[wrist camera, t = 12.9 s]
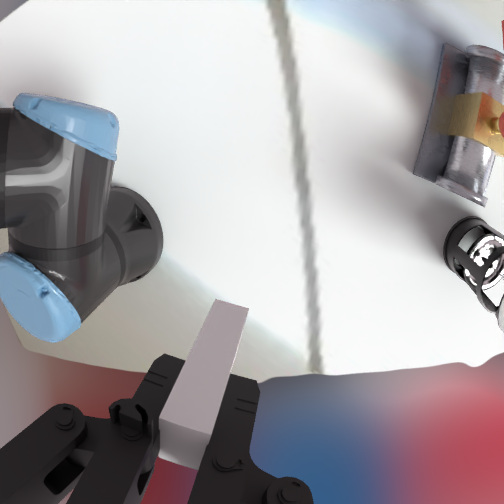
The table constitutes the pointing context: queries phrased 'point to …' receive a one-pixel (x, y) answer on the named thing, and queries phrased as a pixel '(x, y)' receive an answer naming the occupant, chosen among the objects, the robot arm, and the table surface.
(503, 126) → the lever
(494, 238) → the french press
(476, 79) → the valve body
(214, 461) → the robot arm
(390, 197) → the table surface
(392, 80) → the table surface
